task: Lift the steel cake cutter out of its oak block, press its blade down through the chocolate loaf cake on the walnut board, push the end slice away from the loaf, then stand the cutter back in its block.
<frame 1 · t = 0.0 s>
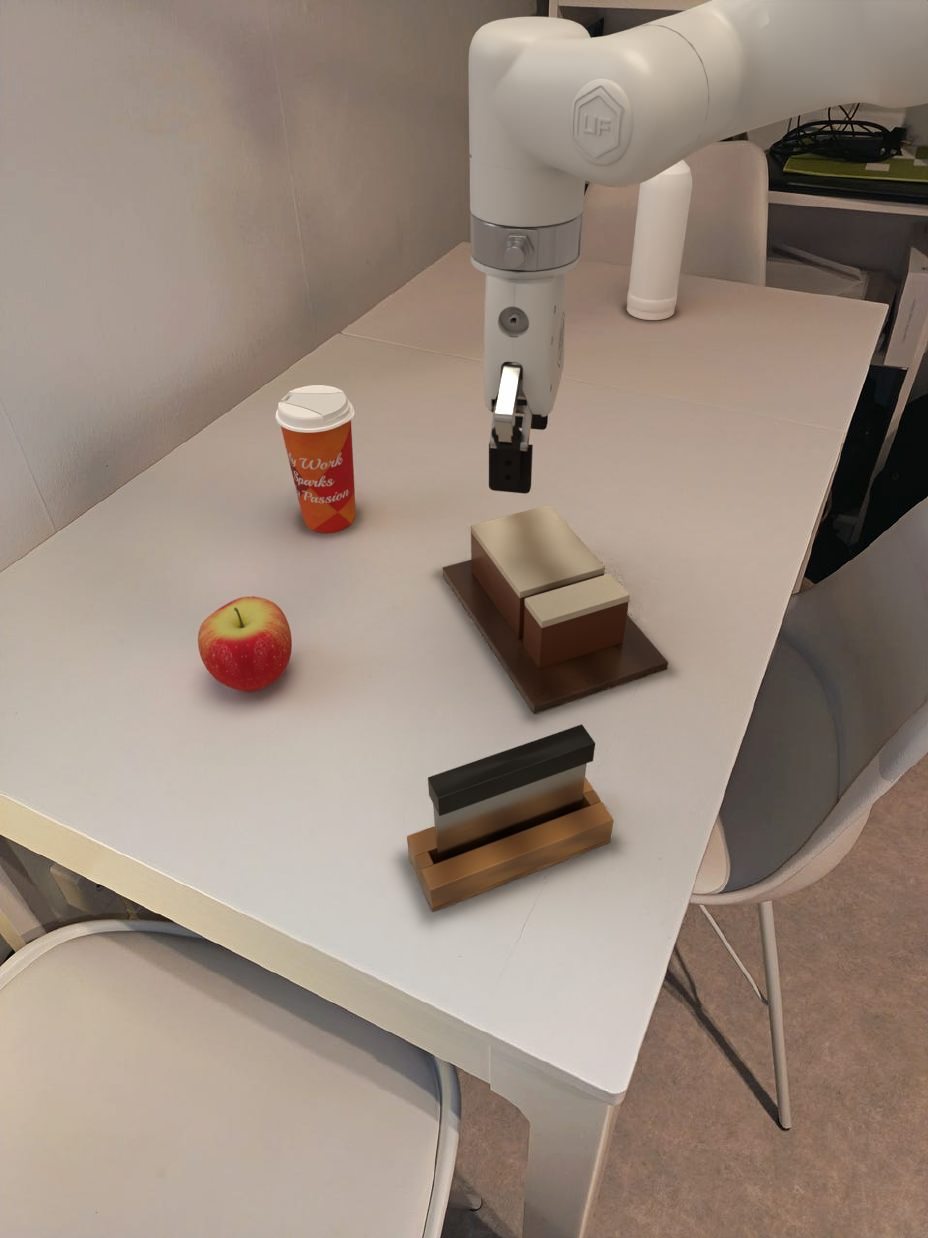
hand: (519, 456, 71), 21 cm above the table, tool pointing down, fingers open, 9 cm apart
knife block: (510, 850, 69), on the table
coffee cup: (330, 519, 103), on the table
cake cutter: (510, 846, 68), resting on knife block
cake slice: (573, 644, 85), point 1 cm above the table, touching cake
bottle: (650, 312, 145), on the table
cake: (543, 613, 90), on the table
apple: (254, 678, 84), on the table
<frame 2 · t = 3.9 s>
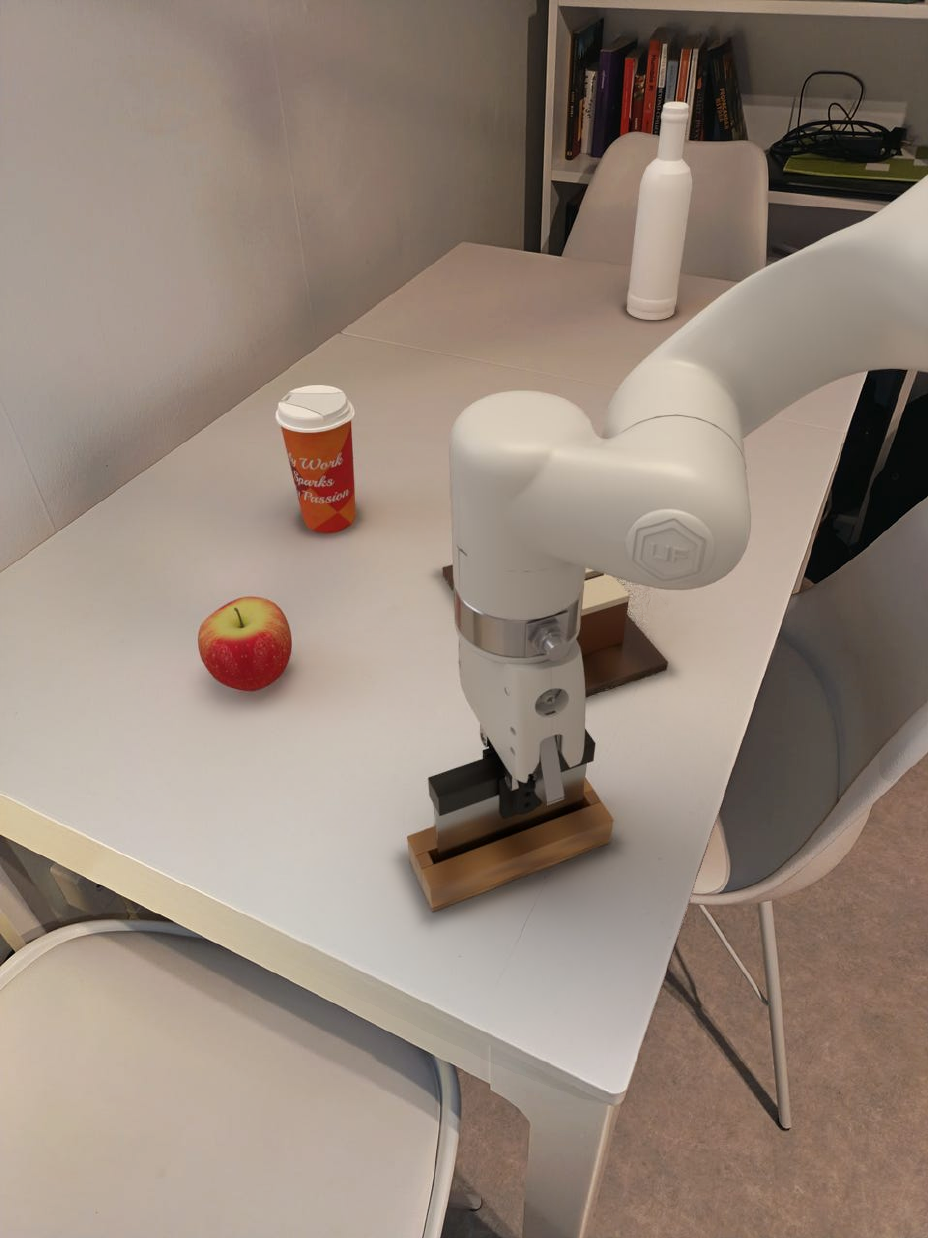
hand: (512, 794, 64), 7 cm above the table, tool pointing down, fingers closed on cake cutter, 2 cm apart
cake cutter: (510, 846, 68), point 1 cm above the table, touching gripper
everything else where it was.
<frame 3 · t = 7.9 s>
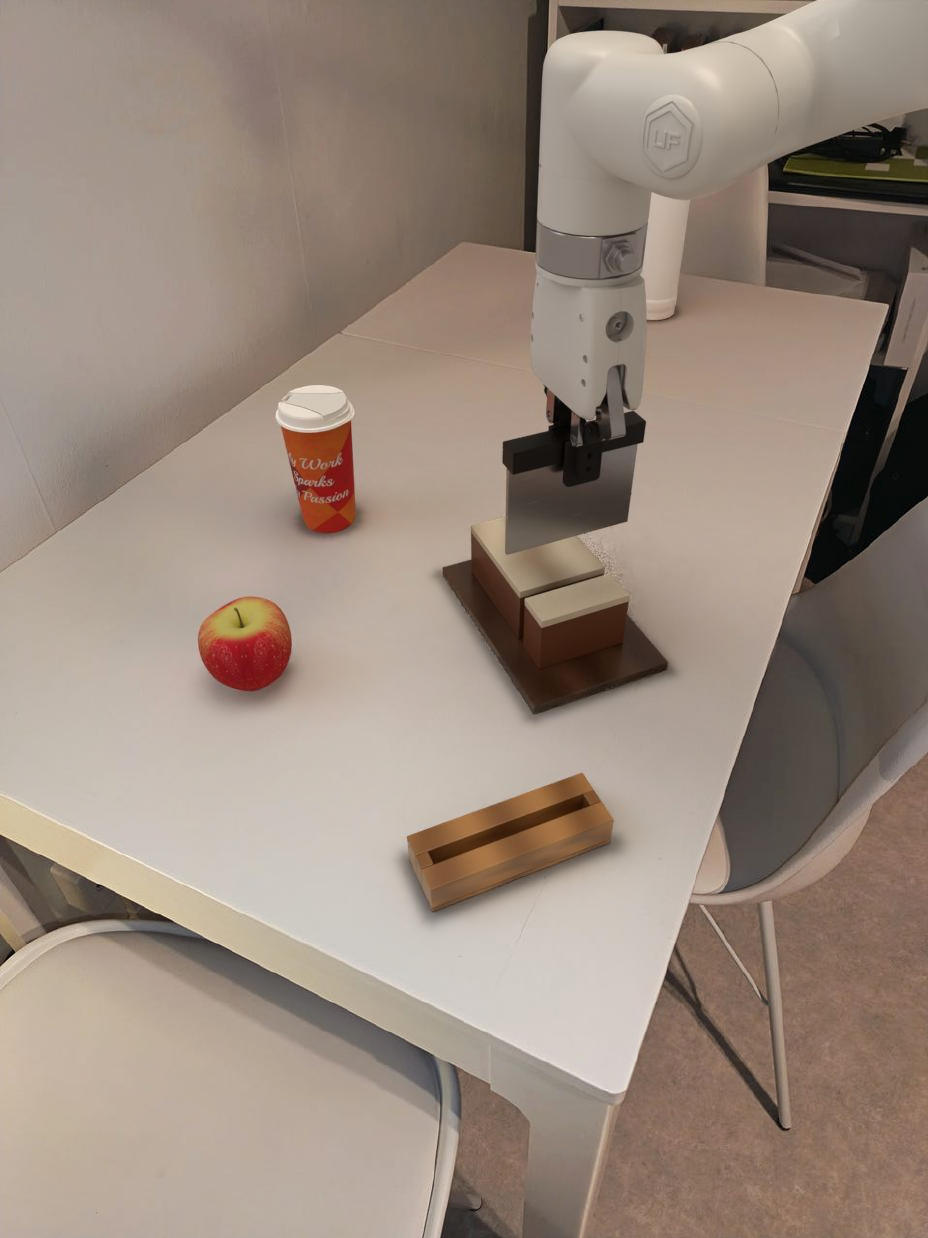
hand: (572, 472, 73), 19 cm above the table, tool pointing down, fingers closed on cake cutter
cake cutter: (567, 536, 78), point 13 cm above the table, touching gripper
everything else where it was.
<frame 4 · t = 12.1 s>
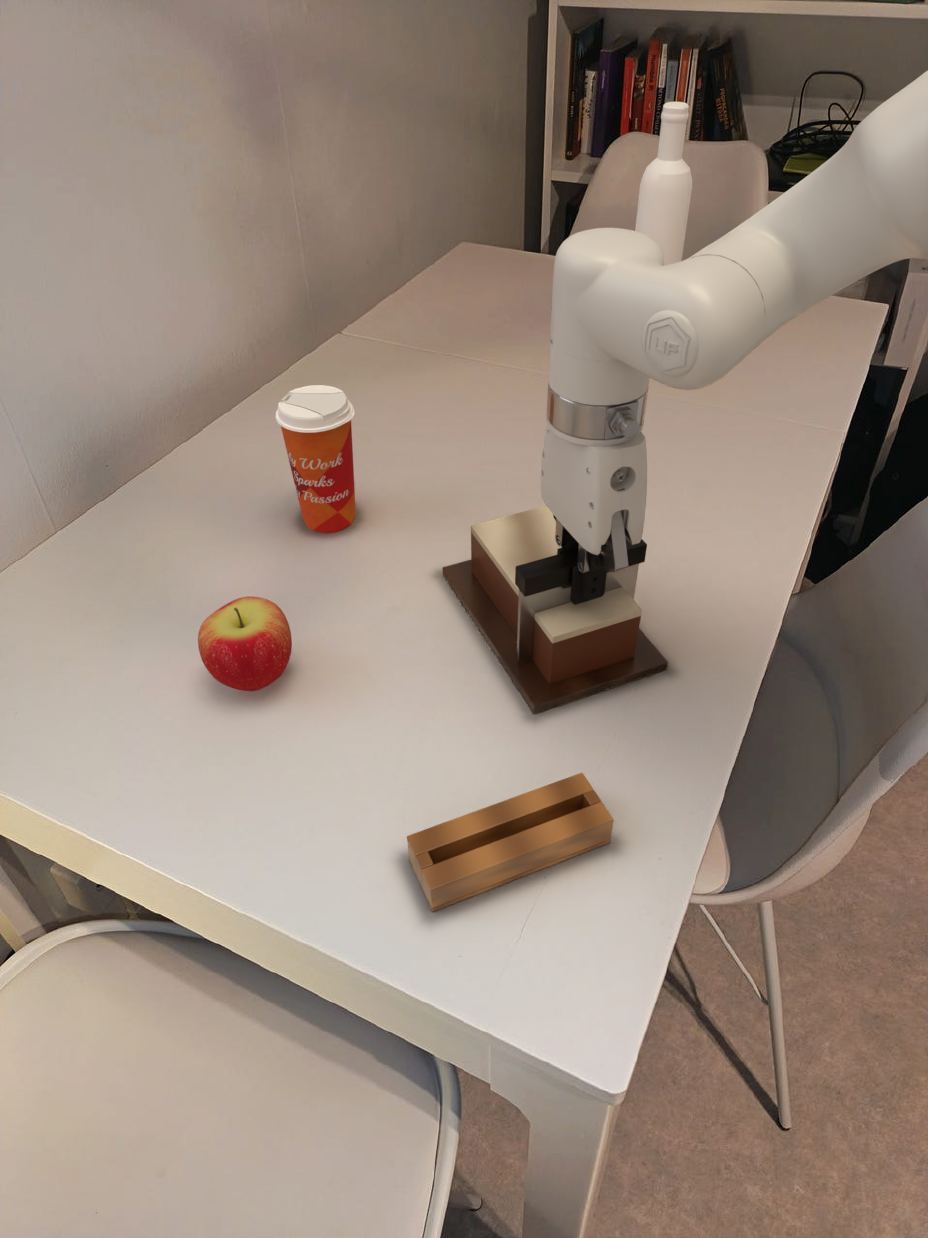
hand: (579, 588, 80), 8 cm above the table, tool pointing down, fingers closed on cake cutter, 2 cm apart
cake cutter: (574, 642, 84), point 1 cm above the table, touching cake slice, gripper
cake slice: (583, 658, 83), point 1 cm above the table, touching cake cutter
everything else where it was.
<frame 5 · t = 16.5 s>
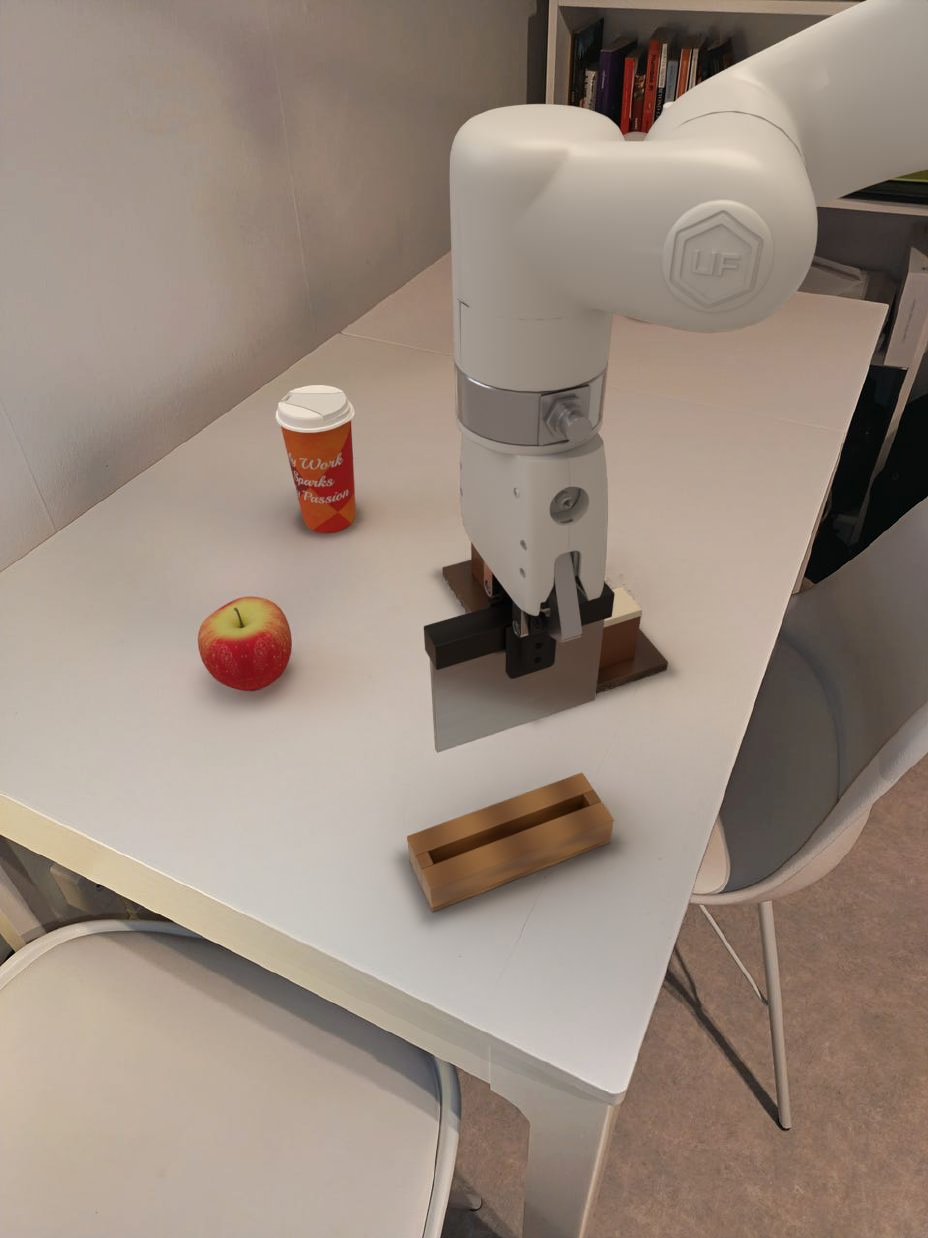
hand: (520, 654, 56), 20 cm above the table, tool pointing down, fingers closed on cake cutter
cake cutter: (516, 724, 61), point 13 cm above the table, touching gripper
cake slice: (583, 659, 83), point 1 cm above the table, touching cake
everything else where it was.
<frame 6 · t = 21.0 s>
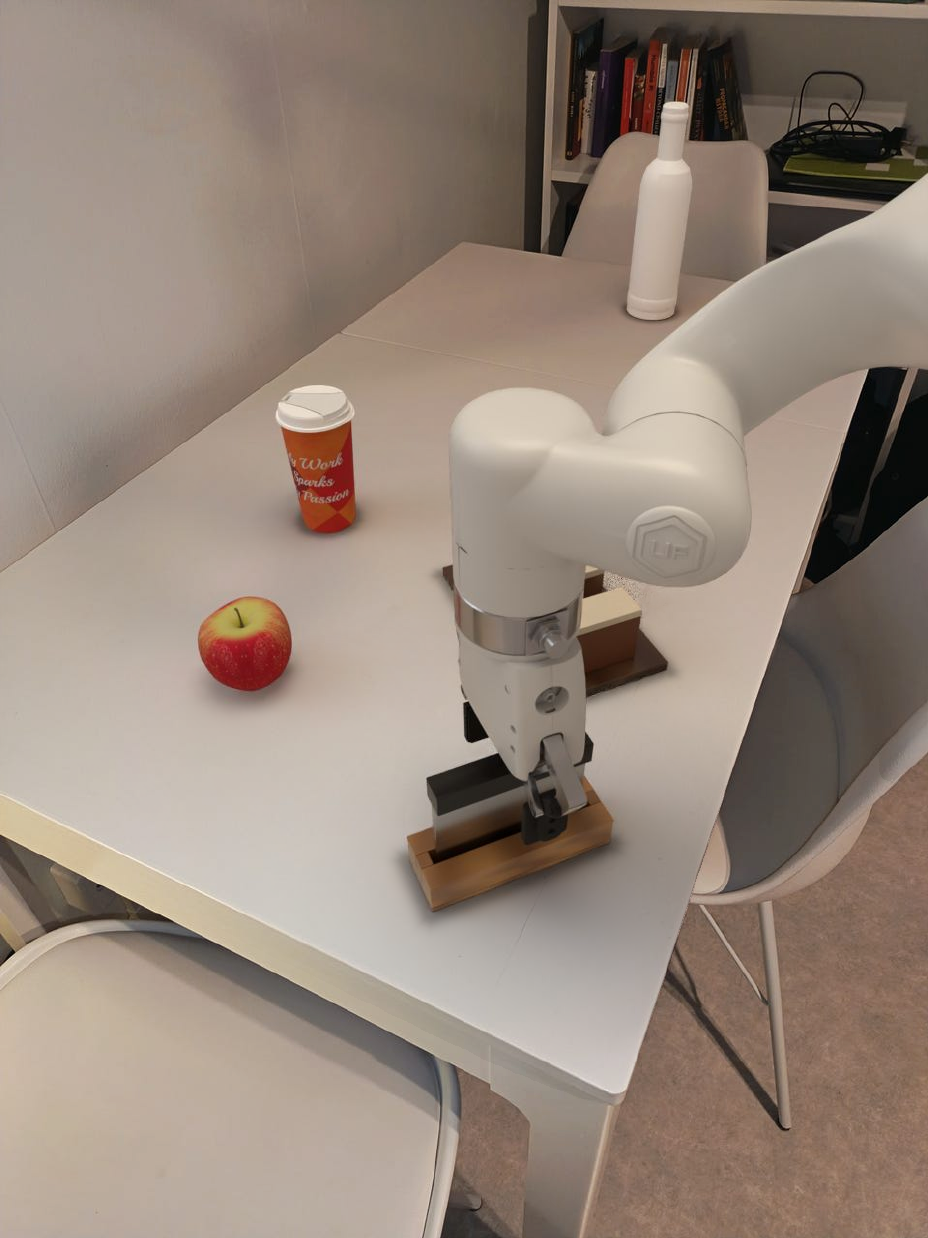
hand: (512, 782, 63), 8 cm above the table, tool pointing down, fingers open, 9 cm apart
cake cutter: (508, 847, 68), resting on knife block
everything else where it was.
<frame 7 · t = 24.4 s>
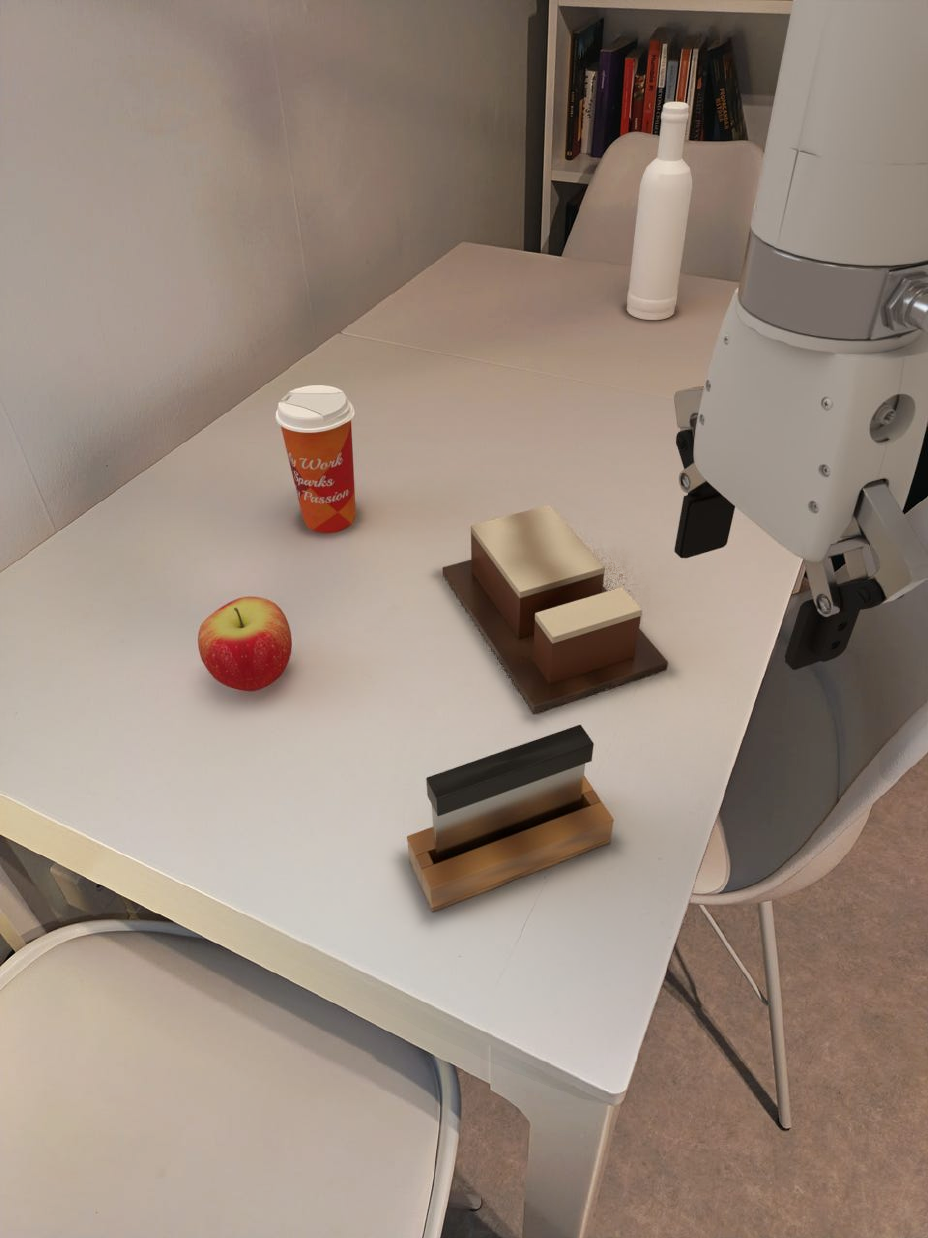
hand: (752, 600, 47), 28 cm above the table, tool pointing down, fingers open, 9 cm apart
nothing on the table moved.
at the end: cake slice 1.2 cm from the target spot on the cake, point 1.0 cm above the cake's base; cake slice tilted 0°; cake cutter 0.1 cm off-centre on the knife block, point 0.5 cm above the knife block's base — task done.
